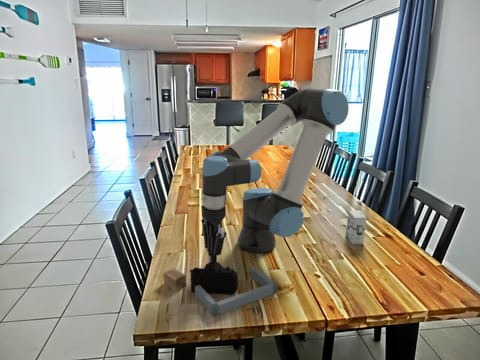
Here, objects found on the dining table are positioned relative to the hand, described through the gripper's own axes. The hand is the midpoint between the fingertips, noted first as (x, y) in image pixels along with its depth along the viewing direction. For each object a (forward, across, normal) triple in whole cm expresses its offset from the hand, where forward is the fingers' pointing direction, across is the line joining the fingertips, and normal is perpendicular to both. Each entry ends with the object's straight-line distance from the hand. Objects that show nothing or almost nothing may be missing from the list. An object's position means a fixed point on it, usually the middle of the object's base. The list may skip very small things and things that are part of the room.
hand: (212, 270), depth 119 cm
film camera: (+2, +7, -3) cm, 7 cm away
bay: (+1, +14, +1) cm, 14 cm away
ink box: (+2, +6, +64) cm, 64 cm away
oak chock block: (+2, -1, -13) cm, 13 cm away
